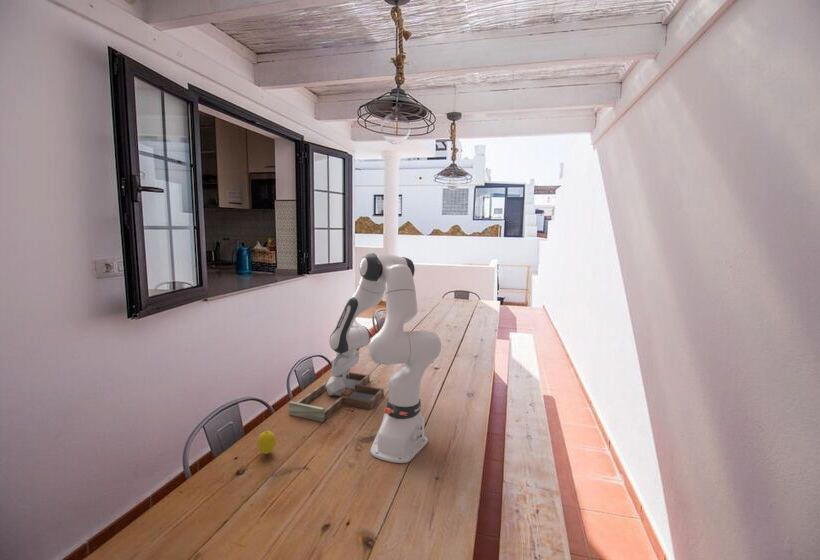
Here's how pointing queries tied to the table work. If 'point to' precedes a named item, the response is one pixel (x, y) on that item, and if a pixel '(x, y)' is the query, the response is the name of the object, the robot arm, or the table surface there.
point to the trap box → (320, 414)
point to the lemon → (266, 442)
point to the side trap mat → (361, 396)
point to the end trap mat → (350, 383)
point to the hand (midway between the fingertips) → (345, 378)
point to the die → (335, 386)
